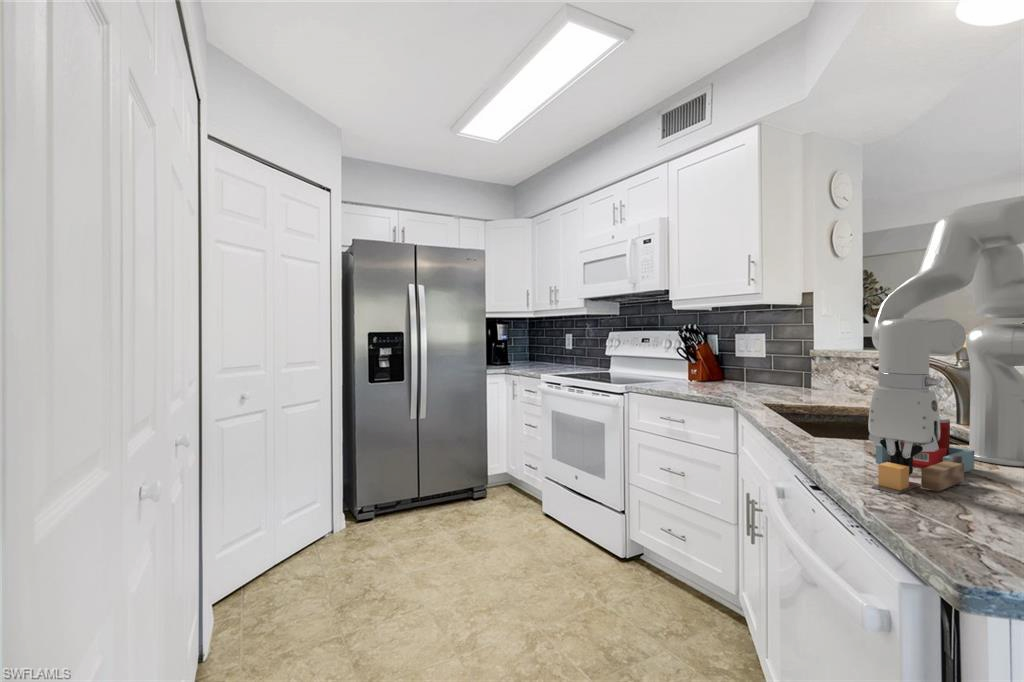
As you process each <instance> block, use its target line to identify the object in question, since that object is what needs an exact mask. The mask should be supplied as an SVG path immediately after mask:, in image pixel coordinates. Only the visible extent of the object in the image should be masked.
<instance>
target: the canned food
mask: <svg viewBox="0 0 1024 682" xmlns="http://www.w3.org/2000/svg"><path fill="white" fill-rule="evenodd" d="M939 418H940V439H939V440H938V441H937V444H938V447H939V449H938V450H937V451H934V452H920V453H919V454H917V455H916V456H914V457H913V468H917V467H918V468H919V469H923V468H926V467H929V466H932V465H935V464H938V463H941V462H943V457H945V456H948V455H949V447H951V446H950V444H951V438H950V437H951V434H950V433H951V420H950V418H949V417H946V416H942V415H939ZM904 444H905V442H903V441H902V453H903V449H904ZM918 445H919V444H918ZM921 445H923V444H921Z"/></svg>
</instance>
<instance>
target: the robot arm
mask: <svg viewBox="0 0 1024 682" xmlns="http://www.w3.org/2000/svg"><path fill="white" fill-rule="evenodd" d="M928 240H929V241H928V243H927V247H926V250H925V252H924V255H923V258H922V260H921V264H920V266H919V270H918V272H917V273H916V274H914V275H913V276H912V277H910V278H909V279H907V280H905V282H903V283H902V284H901V285H899V286H898V287H896V289H893V291H892V292H891V293H890V294H889V295H888V296H887V297H886V298H885V299H884V300H883V302H882V303H881V305H880V307H879V310H878V312H877V315H876V316H875V320H874V323H873V326H872V327H873V328H872V331H871V340H872V344H873V347H874V348H875V349H876V350H877V351H878V376H877V378H878V384H877V386H876V387H874V389H873V392H872V396H871V399H870V405H869V410H868V411H869V412H868V413H869V414H868V427H867V428H868V432H869V435H868V440H869V441H871V442H874V443H876V444H881V445H882V446H883V447H884V448H885V449H886V450H887V451H888V454H889V455H891V461H890V463H895V464H900V465H905V466H909V477H910V476H911V475H913V471H914V467H913V457H914V456H916V455H917V454H919V453H920V452H934V451H937V450H938V449H939V447H938V444H937V441H938V440H939V439H940V418H939V416H940V413H939V412H940V411H939V404H938V403H939V402H938V399H937V395H936V394H937V393H936V392H935V391H934V390H930V388H931V387H934V386H936V387H938V386H939V385H940V380H939V379H938V378H934V377H932V375H931V374H930V357H947V356H950V355H954V354H956V353H957V352H959V351H960V350H961V349H963V347H964V345H966V347H965V348H966V354H967V358H968V361H969V362H968V363H969V370H970V373H969V374H970V394H969V395H970V396H969V397H970V401H969V402H970V403H969V405H970V406H969V446H968V447H964V448H962V449H968V450H974V461H979V462H983V463H990V464H995V465H1001V466H1002V465H1003V466H1012V467H1024V376H1023V374H1022V373H1020V371H1018V369H1017V368H1016V367H1024V323H994V324H983V325H980V326H977V327H975V328H972V329H971V330H970V331H969V332H968V334H966V330H965V328H964V327H963V326H962V324H961V323H960V322H958V321H956V320H955V319H951V318H948V317H947V318H946V317H907V318H906V316H907V315H908V314H909V313H910V312H911V311H912V310H914V309H916V308H917V307H918V306H921V305H923V304H925V303H928V302H930V301H933V300H935V299H939V298H942V297H945V296H947V295H949V294H952V293H955V292H957V291H960V290H961V289H964V288H966V287H967V286H969V284H971V298H972V299H971V300H972V306H973V310H974V313H976V315H978V316H979V317H982V318H985V319H1024V253H1023V250H1022V248H1020V247H1019V246H1018V245H1021V244H1024V195H1020V196H1014V197H1013V196H1012V197H1008V198H1004V199H1003V198H1002V199H997V200H990V201H986V202H981V203H980V202H979V203H975V204H971V205H966V206H963V207H959V208H956V209H954V210H951V211H949V212H948V213H947V214H946V215H945V216H943V217H941V218H940V219H939V220H938V221H936V222H935V225H934V227H933V229H932V233H931V235H930V237H929V239H928ZM900 441H903V442H905V444H904V449H903V453H902V452H901V446H900ZM918 444H919V445H918ZM921 444H923V445H921Z"/></svg>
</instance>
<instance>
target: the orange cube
mask: <svg viewBox="0 0 1024 682" xmlns="http://www.w3.org/2000/svg"><path fill="white" fill-rule="evenodd" d="M877 471H878V472H877V473H878V477H877V478H878V479H877V480H878V481H877V482H878V484H877V485H880V486H884V487H888V488H893V489H897V490H903V489H906V488H908V487H909V481H910V476H909V466H905V465H900V464H895V463H891V461H889V462H885V463H882V464H881V463H878V470H877Z"/></svg>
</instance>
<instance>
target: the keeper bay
mask: <svg viewBox="0 0 1024 682" xmlns="http://www.w3.org/2000/svg"><path fill="white" fill-rule="evenodd" d="M900 446H901V452H902V441H900ZM950 455H957V456H961V457H962V463H964V473H966V472H970V471H971V470H974V469H975V460H974V450H968V449H963V448H961V447H957V446H956V447H955V446H950V447H949V455H948V456H945V457H943V461H946V460H949V457H950ZM888 461H889V462H891V455H889V454H888V451H887V450H886V449H885V448H884V447H883V446H882V445H881V444H879V443H877V444H875V463H876V462H878V463H877V464H881V463H885V462H888Z"/></svg>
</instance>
